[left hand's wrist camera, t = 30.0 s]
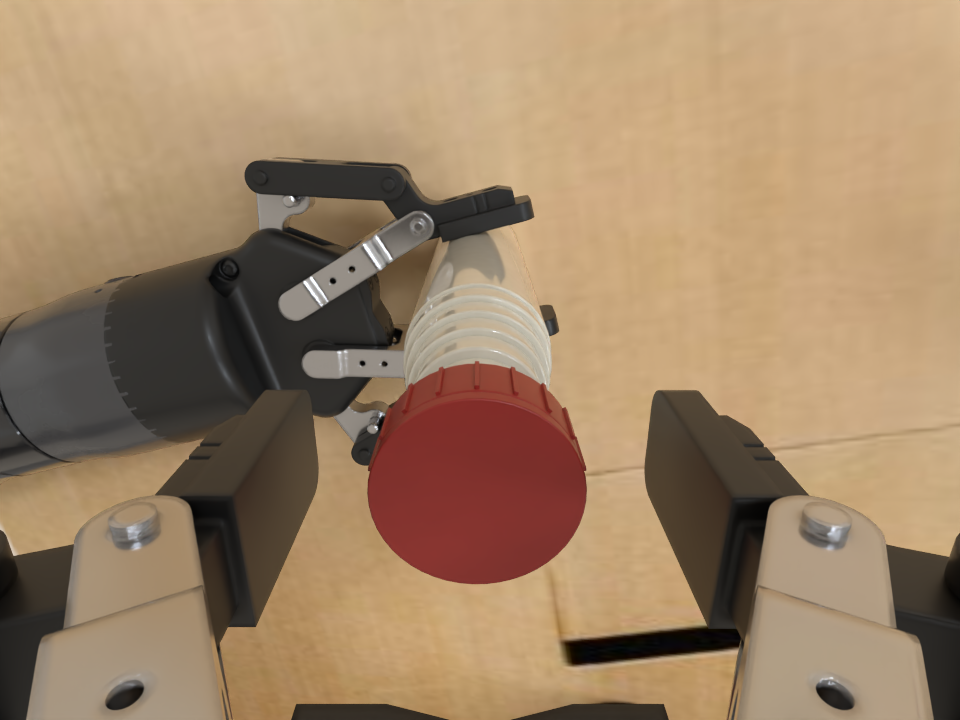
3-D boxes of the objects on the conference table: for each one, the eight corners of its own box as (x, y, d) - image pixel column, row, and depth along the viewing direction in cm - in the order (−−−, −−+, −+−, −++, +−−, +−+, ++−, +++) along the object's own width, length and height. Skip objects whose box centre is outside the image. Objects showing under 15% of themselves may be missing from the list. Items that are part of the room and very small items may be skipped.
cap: (339, 462, 12) (319, 510, 10) (464, 318, 11) (462, 349, 9) (488, 562, 13) (489, 619, 11) (616, 439, 12) (636, 485, 10)
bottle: (438, 207, 30) (363, 364, 10) (521, 212, 30) (602, 376, 10) (436, 288, 31) (367, 558, 12) (515, 292, 31) (575, 566, 12)
